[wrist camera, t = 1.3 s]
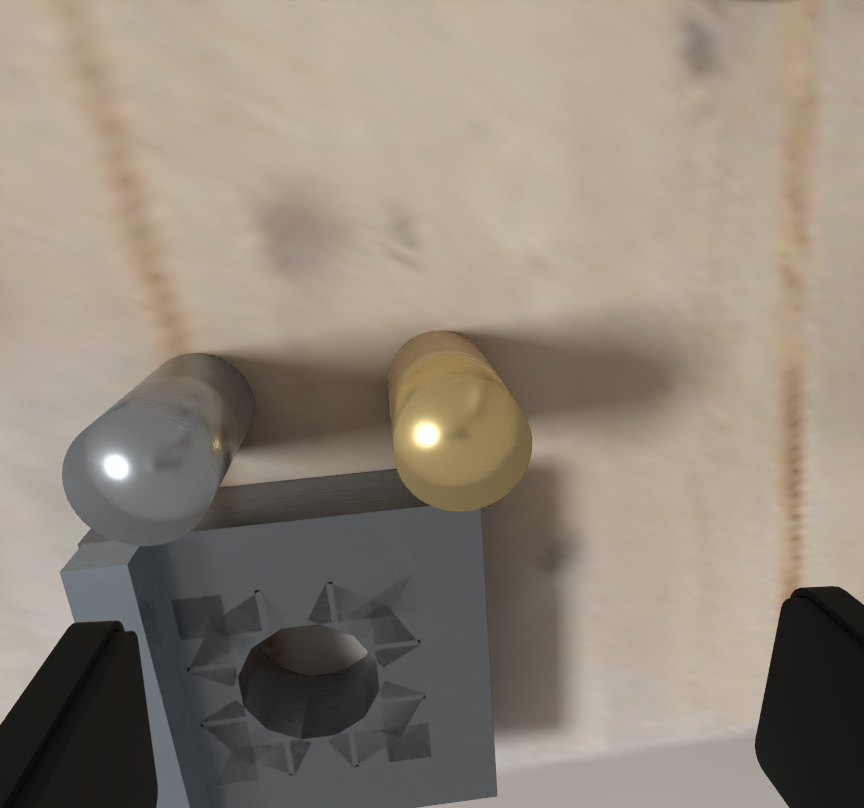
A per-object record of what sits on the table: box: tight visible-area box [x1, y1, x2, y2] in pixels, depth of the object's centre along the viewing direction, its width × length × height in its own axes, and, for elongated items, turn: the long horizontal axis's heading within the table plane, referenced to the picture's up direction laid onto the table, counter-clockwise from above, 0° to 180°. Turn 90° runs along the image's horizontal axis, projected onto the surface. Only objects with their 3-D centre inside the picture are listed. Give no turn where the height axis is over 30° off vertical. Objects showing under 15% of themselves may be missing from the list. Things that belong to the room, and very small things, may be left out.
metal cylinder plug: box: [62, 354, 254, 546], centre depth 25 cm, size 5×5×8 cm
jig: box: [60, 469, 497, 808], centre depth 29 cm, size 16×16×6 cm
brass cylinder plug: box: [388, 331, 532, 512], centre depth 25 cm, size 5×5×8 cm
